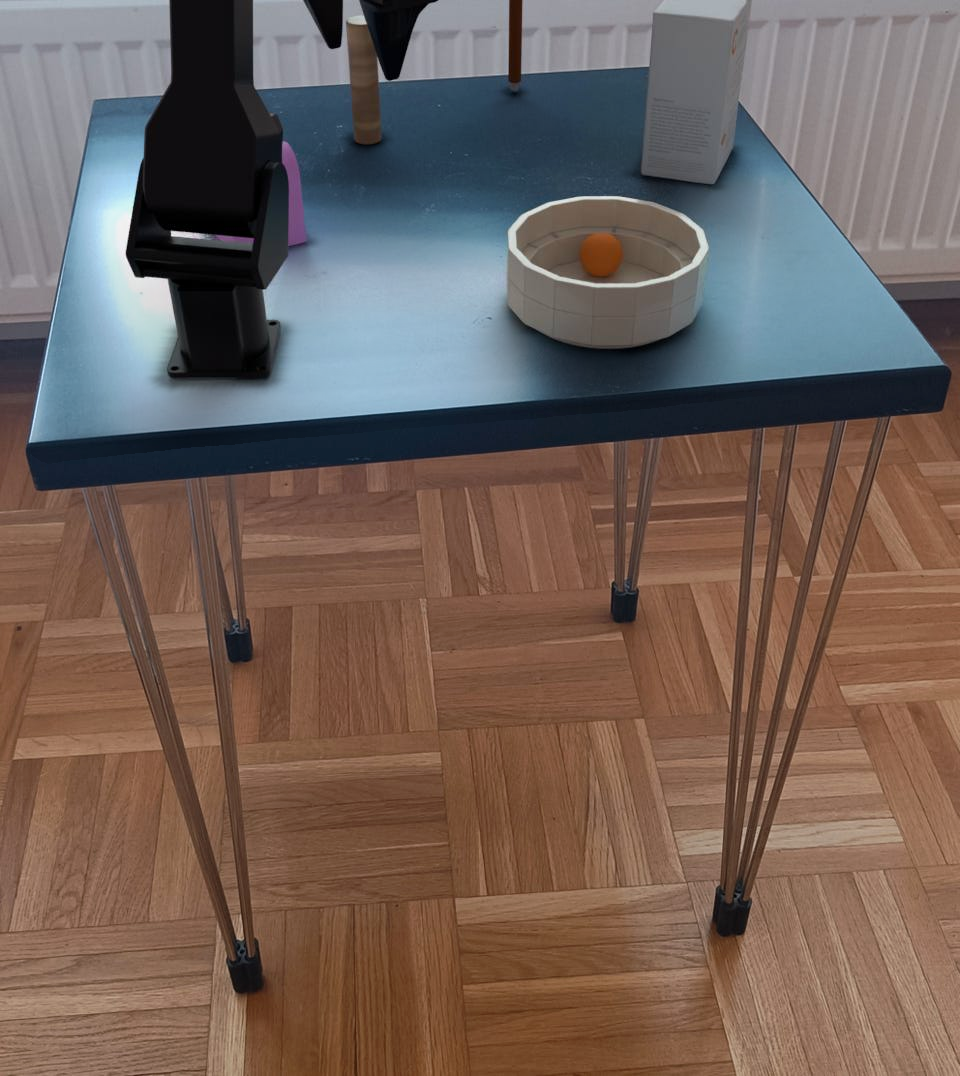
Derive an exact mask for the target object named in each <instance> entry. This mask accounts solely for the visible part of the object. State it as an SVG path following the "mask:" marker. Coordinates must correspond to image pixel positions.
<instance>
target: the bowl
mask: <svg viewBox="0 0 960 1076" xmlns="http://www.w3.org/2000/svg"><path fill="white" fill-rule="evenodd" d="M596 233H607V234H610V235H612V236H614V237H615V238H616V239H617V240H618V241H619V243H620V244H621V247H622V251H623V258H622V262H621V264H620V266H619V268H618V269H617V270H616V271H615V272H614V273H612V274H610V275H608V276H605V277H597V276H593V275H591V274H589V273H588V272H587V271H586V270H585V269H584V268H583V266H582V264H581V262H580V249H581V246H582V244H583V242H584V241H585V240H586V239H587V238H588V237H589V236H591V235H593V234H596ZM706 236H707V235H706V233H705V230H704V229H703V228H702V227H701V226H700V225H699V224H697V223H696V222H694V221H693V220H692V219H691V218H690V217H688V216H687V215H686V214H684V213H682V212H680V211H678V210H675V209H673V208H670V207H667V206H665V205H663V204H659V203H657V202H654V201H649V200H648V201H647V200H643V199H636V198H630V197H625V196H618V195H615V196H614V195H600V196H599V195H594V196H593V195H589V196H588V195H587V196H586V195H585V196H582V195H581V196H575V197H570V198H563V199H559V200H553V201H548V202H545V203H543V204H541V205H539V206H536V207H534V208H533V209H531V210H528V211H527V212H524V213H521V214H520V216H518V218H516V220H515V221H514V222H513V224H511V226H510V227H509V228H508V229H507V232H506V304H507V306H508V307H509V309H510V310H512V312H513V313H514V314H515V315H516V316H517V318H518V319H520V321H521V322H522V323H523V324H524V325H526V326H527V327H530V328H532V329H534V330H536V331H538V332H539V333H541V334H542V335H544V336H546V337H548V338H550V339H552V340H556V341H558V342H561V343H564V344H568V345H572V346H577V347H582V348H589V349H598V350H599V349H600V350H601V349H604V350H614V349H616V350H617V349H619V350H620V349H628V348H629V349H630V348H634V347H635V348H636V347H641V346H644V345H648V344H652V343H654V342H657V341H660V340H662V339H666V338H669V337H671V336H672V335H674V334H676V333H677V332H679V331H681V330H683V329H684V328H686V327H687V326H689V325H691V324H692V323H693V322H694V320H695V318H696V316H698V315H697V314H698V313H699V311H700V309H701V307H702V305H703V303H704V301H703V300H704V294H705V293H704V292H705V285H706V277H707V271H708V270H707V269H708V262H709V255H710V254H709V253H710V245H709V243H708V239H707V237H706Z"/></svg>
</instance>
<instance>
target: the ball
mask: <svg viewBox="0 0 960 1076" xmlns="http://www.w3.org/2000/svg"><path fill="white" fill-rule="evenodd" d="M622 258H623V251H622V247H621V244H620V243H619V241H618V240H617V239H616V238H615V237H614V236H612V235H610V234H607V233H596V234H593V235H591V236H589V237H588V238H587V239H586V240H585V241H584V242H583V244H582V246H581V249H580V262H581V264H582V266H583V268H584V269H585V270H586V271H587V272H588V273H589V274H591V275H593V276H597V277H605V276H608V275H610V274H612V273H614V272H615V271H616V270H617V269H618V268H619V266H620V264H621V262H622Z"/></svg>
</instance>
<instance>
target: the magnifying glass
mask: <svg viewBox="0 0 960 1076" xmlns="http://www.w3.org/2000/svg"><path fill="white" fill-rule="evenodd" d="M523 3H524V2H523V0H508V61H507V63H508V65H507V69H508V75H507V79H508V80H507V81H508V82H509V83H510V90H511V92H513V93H516V92H518V91H519V87H520V86H519V85H520V84H519V83H521V82H522V58H523V57H522V51H523Z"/></svg>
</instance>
